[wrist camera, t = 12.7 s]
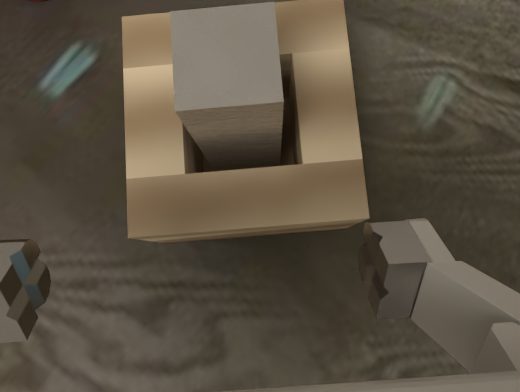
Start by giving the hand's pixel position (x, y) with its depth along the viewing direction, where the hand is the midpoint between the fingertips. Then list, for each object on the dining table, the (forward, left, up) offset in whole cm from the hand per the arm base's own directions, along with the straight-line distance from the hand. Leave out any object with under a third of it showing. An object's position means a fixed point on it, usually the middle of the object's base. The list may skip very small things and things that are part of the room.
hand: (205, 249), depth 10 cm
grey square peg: (+7, +1, -16) cm, 17 cm away
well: (+7, +1, -17) cm, 18 cm away
